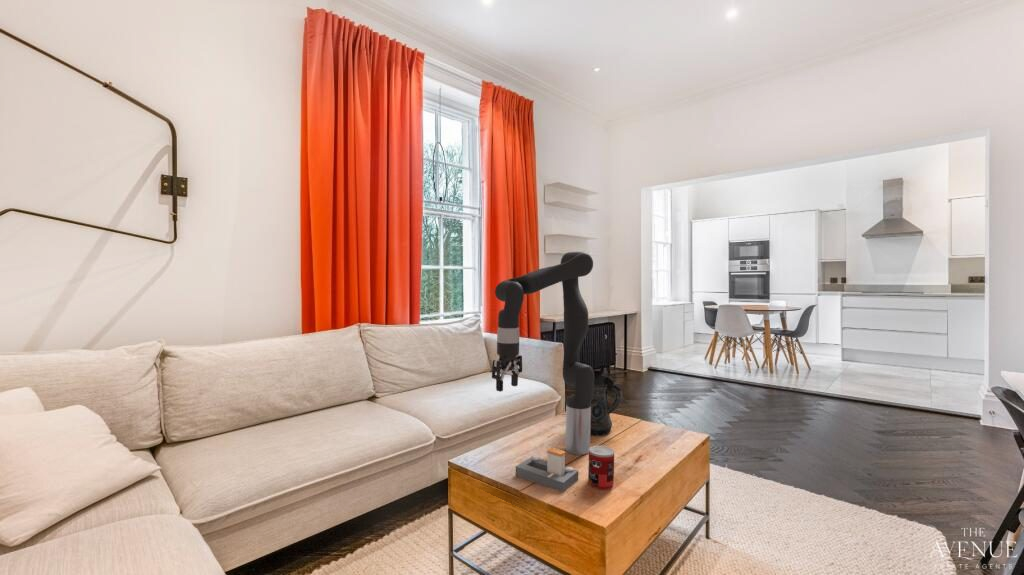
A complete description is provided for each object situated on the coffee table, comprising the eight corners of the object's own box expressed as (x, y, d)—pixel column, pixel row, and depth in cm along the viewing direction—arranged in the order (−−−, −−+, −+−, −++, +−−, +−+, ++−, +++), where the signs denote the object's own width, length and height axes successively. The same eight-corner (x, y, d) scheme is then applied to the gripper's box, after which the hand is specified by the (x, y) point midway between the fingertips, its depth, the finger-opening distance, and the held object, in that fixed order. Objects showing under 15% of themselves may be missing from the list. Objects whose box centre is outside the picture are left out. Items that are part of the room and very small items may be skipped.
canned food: (585, 478, 141) (586, 445, 141) (609, 477, 142) (610, 445, 142) (591, 490, 134) (592, 455, 133) (616, 489, 134) (617, 455, 134)
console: (532, 464, 151) (532, 454, 151) (578, 479, 140) (578, 469, 140) (515, 475, 143) (515, 464, 143) (563, 492, 132) (563, 481, 132)
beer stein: (569, 422, 194) (571, 367, 193) (612, 422, 195) (613, 367, 194) (577, 436, 178) (579, 376, 177) (623, 436, 179) (625, 376, 178)
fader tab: (550, 475, 142) (551, 447, 142) (564, 480, 139) (565, 451, 139) (546, 479, 140) (547, 450, 140) (560, 483, 137) (561, 454, 137)
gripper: (504, 344, 137) (503, 395, 137) (529, 339, 148) (528, 386, 149) (486, 341, 141) (485, 391, 142) (511, 337, 153) (510, 382, 153)
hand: (507, 388), depth 145 cm, fingers open, 8 cm apart
